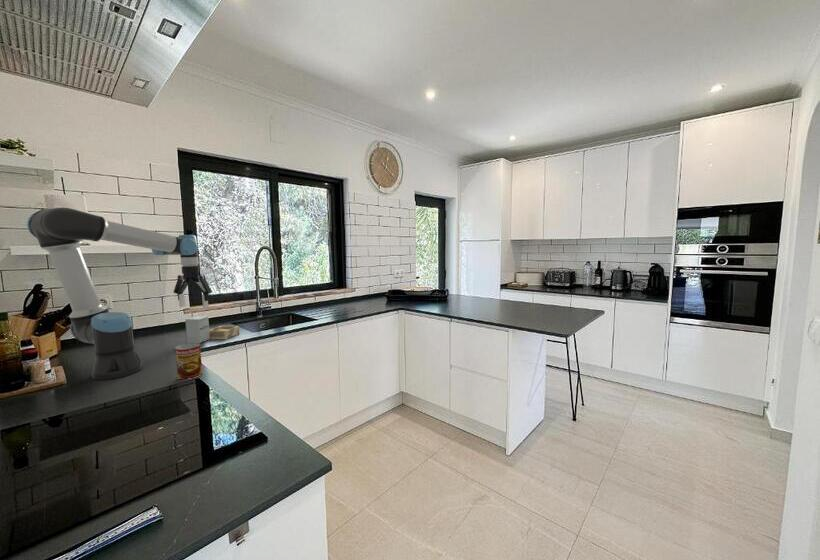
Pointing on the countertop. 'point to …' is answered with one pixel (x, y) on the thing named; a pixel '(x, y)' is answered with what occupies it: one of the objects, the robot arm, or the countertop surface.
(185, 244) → the robot arm
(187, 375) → the canned food
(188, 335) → the supplement box
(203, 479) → the countertop surface
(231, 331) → the display pedestal
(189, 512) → the countertop surface
